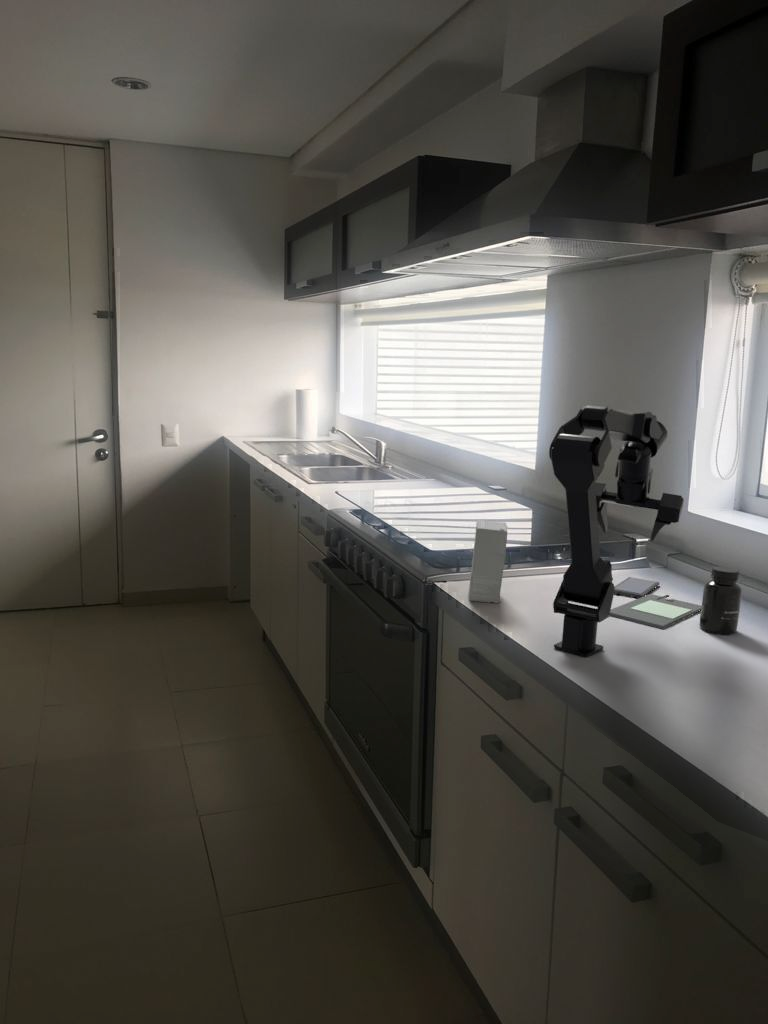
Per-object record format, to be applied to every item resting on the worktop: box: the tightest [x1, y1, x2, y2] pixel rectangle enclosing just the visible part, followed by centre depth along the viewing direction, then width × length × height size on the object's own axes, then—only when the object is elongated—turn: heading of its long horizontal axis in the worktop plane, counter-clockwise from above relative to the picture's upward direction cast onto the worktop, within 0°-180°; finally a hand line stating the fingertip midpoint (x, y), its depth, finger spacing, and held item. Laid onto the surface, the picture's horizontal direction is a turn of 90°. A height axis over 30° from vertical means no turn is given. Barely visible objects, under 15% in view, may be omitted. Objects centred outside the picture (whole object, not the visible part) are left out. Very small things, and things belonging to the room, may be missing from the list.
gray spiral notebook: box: [609, 593, 702, 630], centre depth 175 cm, size 20×12×1 cm, turn 138°
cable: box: [614, 591, 670, 600], centre depth 186 cm, size 7×9×1 cm
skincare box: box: [468, 519, 508, 604], centre depth 179 cm, size 8×7×16 cm
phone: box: [614, 576, 660, 599], centre depth 192 cm, size 14×7×1 cm, turn 148°
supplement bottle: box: [698, 566, 743, 636], centre depth 164 cm, size 7×7×12 cm
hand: (628, 535), depth 172 cm, fingers open, 9 cm apart
